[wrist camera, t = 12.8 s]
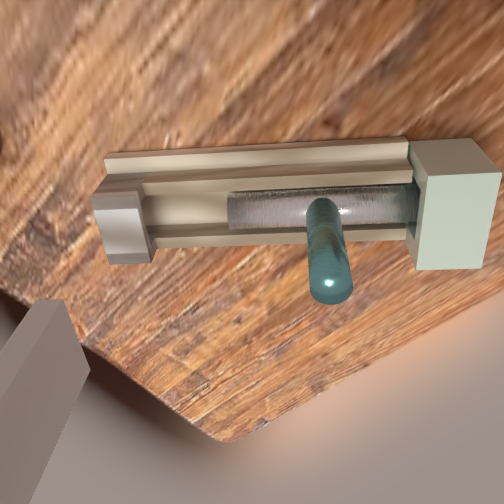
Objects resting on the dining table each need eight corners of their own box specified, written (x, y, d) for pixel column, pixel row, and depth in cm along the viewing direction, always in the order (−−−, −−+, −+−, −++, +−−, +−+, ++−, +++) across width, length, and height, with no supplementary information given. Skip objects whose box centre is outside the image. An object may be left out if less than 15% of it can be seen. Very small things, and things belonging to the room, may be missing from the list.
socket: (408, 141, 43) (428, 175, 37) (471, 137, 43) (502, 172, 36) (399, 226, 48) (415, 270, 42) (456, 224, 47) (481, 268, 41)
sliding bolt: (229, 186, 45) (209, 272, 33) (449, 176, 43) (507, 263, 31) (233, 218, 47) (215, 309, 35) (444, 209, 45) (497, 303, 33)
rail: (108, 153, 46) (84, 182, 40) (405, 136, 43) (421, 165, 37) (132, 241, 51) (113, 277, 46) (395, 231, 48) (409, 268, 43)
